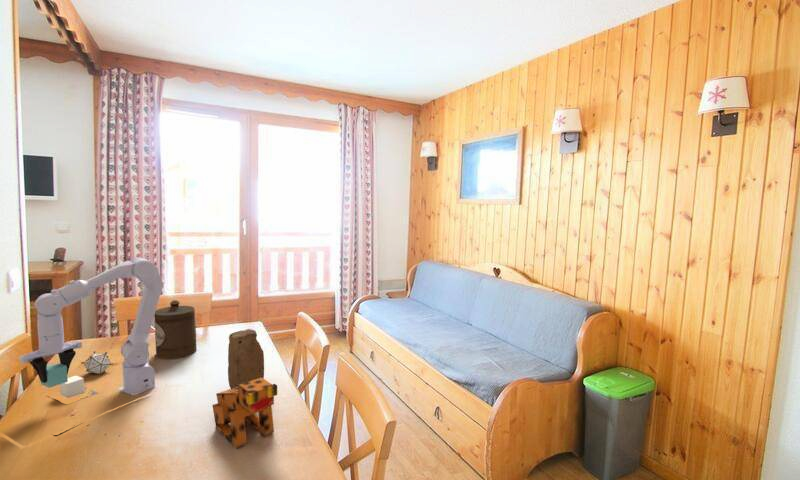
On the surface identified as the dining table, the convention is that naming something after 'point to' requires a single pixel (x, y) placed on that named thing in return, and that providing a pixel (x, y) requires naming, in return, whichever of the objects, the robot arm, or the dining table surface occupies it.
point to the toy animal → (245, 410)
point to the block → (244, 358)
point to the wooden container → (175, 331)
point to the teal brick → (55, 375)
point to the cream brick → (72, 387)
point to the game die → (97, 363)
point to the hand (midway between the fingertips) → (54, 378)
